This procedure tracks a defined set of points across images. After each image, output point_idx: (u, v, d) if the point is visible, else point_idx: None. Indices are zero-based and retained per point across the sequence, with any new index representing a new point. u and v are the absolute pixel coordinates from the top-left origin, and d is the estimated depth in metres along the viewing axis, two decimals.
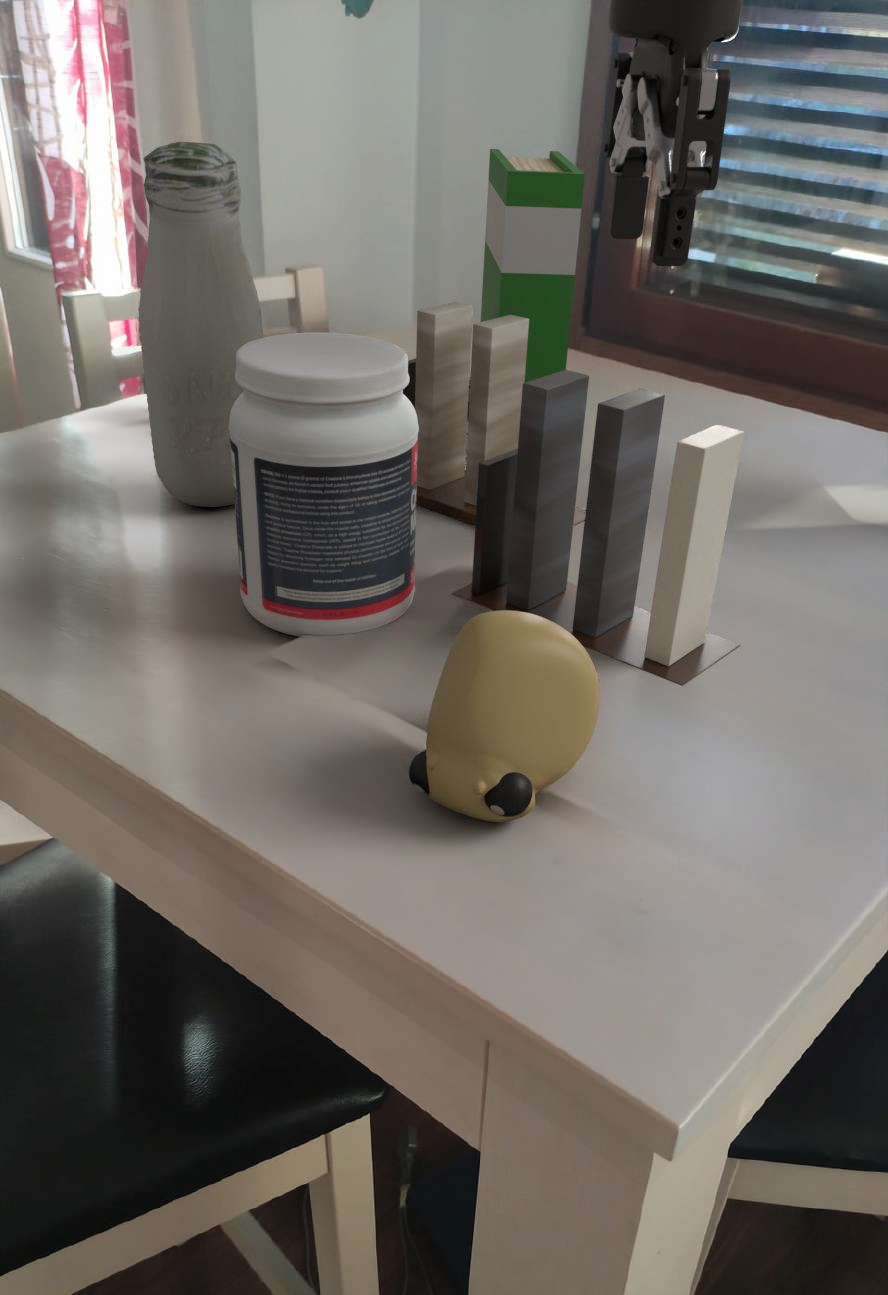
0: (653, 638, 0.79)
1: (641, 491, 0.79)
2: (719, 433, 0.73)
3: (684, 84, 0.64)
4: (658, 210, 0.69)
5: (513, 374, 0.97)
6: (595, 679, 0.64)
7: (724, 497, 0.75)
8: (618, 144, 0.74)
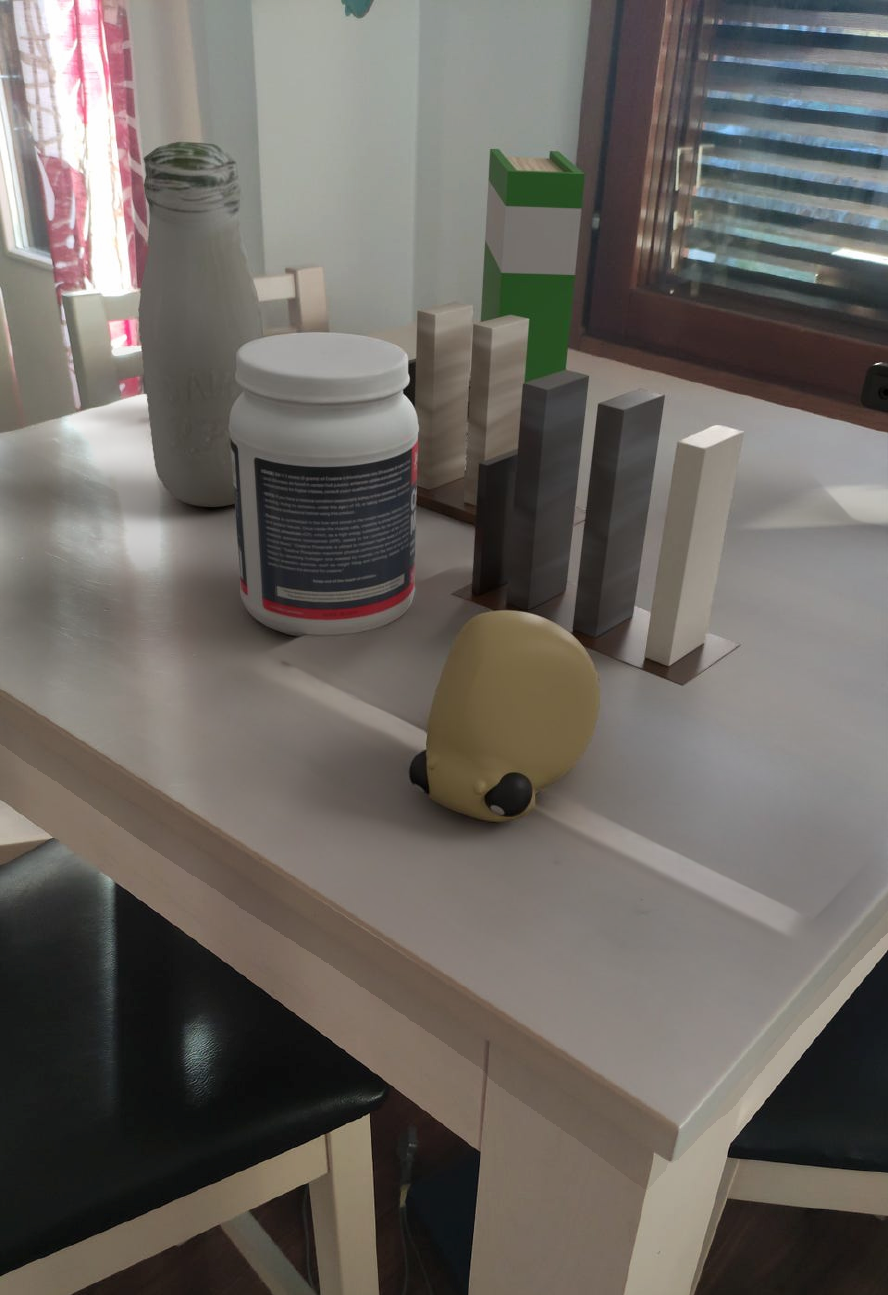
0: (653, 638, 0.79)
1: (641, 491, 0.79)
2: (719, 433, 0.73)
3: None
4: None
5: (513, 374, 0.97)
6: (595, 679, 0.64)
7: (724, 497, 0.75)
8: None
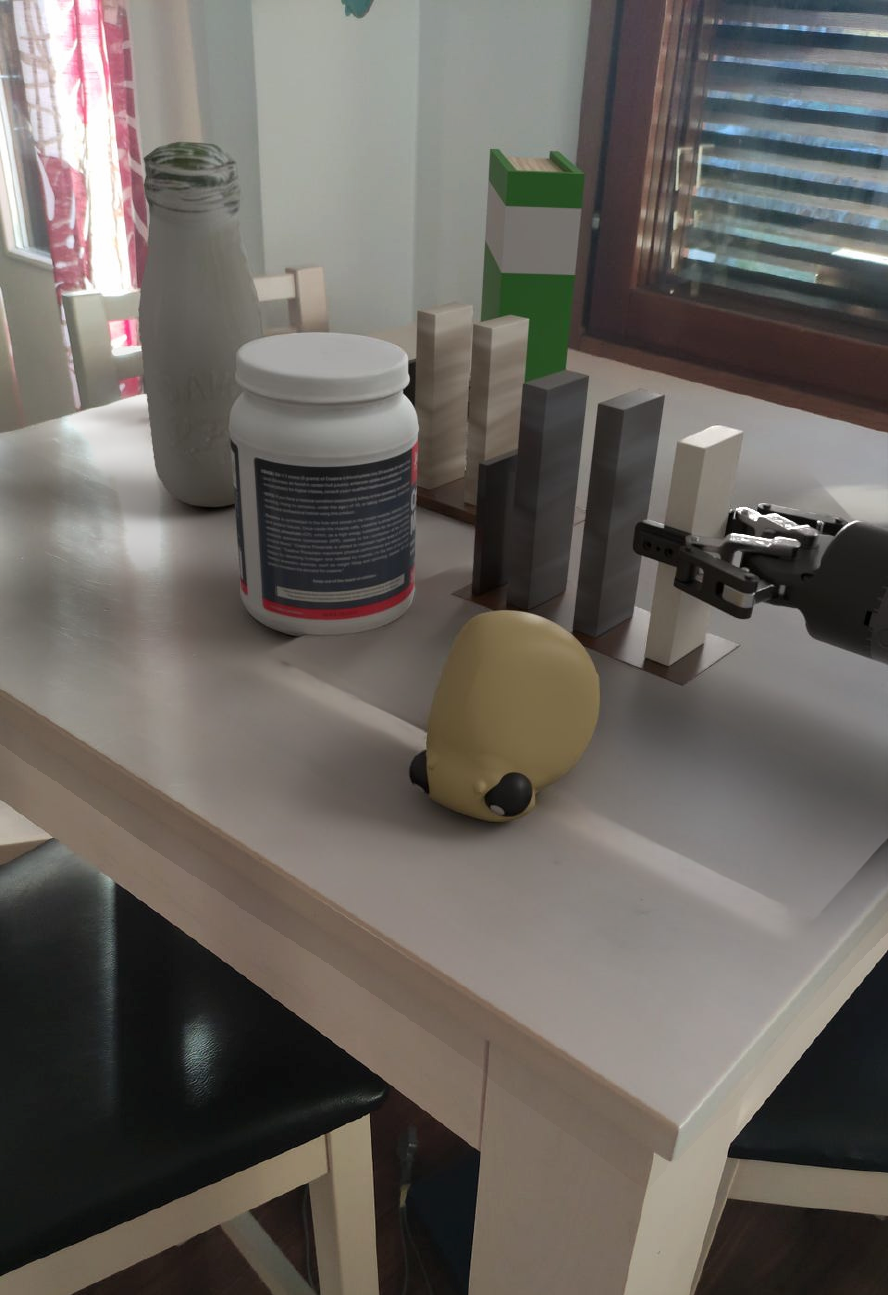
0: (653, 638, 0.79)
1: (641, 491, 0.79)
2: (719, 433, 0.73)
3: None
4: None
5: (513, 374, 0.97)
6: (595, 679, 0.64)
7: (724, 497, 0.75)
8: None
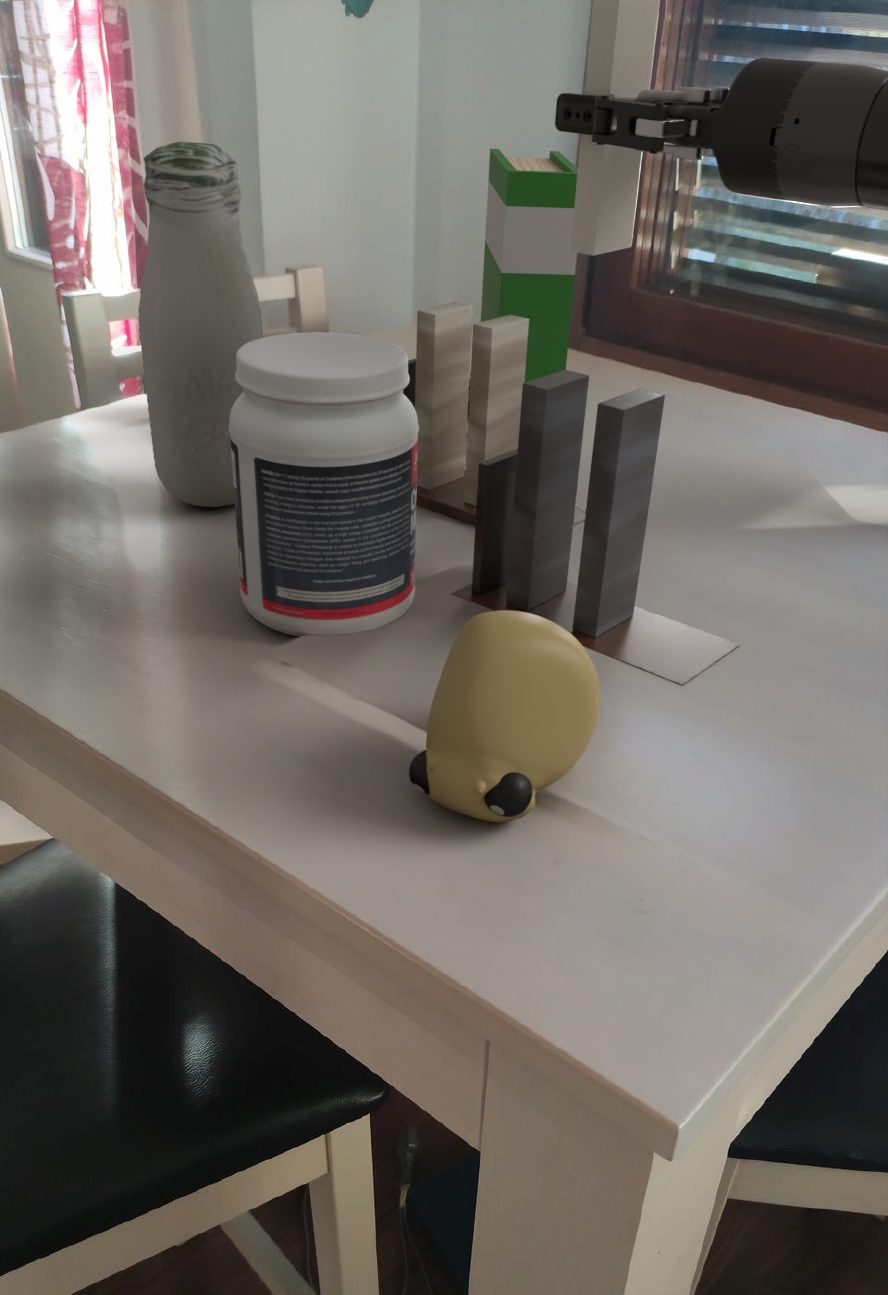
0: (578, 227, 0.81)
1: (641, 491, 0.79)
2: None
3: None
4: None
5: (513, 374, 0.97)
6: (595, 679, 0.64)
7: (643, 71, 0.78)
8: None
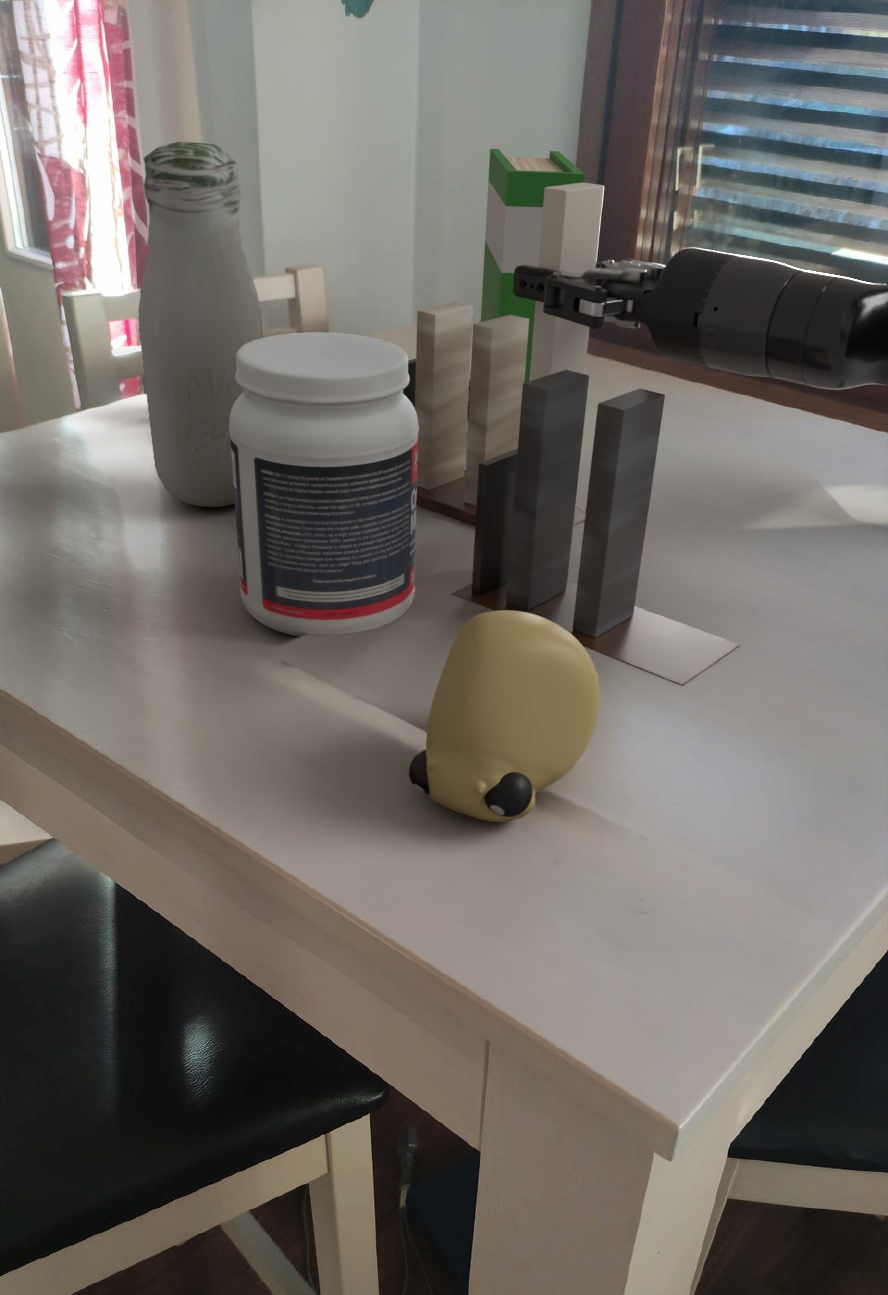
0: (534, 376, 0.92)
1: (641, 491, 0.79)
2: (582, 185, 0.86)
3: None
4: None
5: (513, 374, 0.97)
6: (595, 679, 0.64)
7: (590, 245, 0.89)
8: None
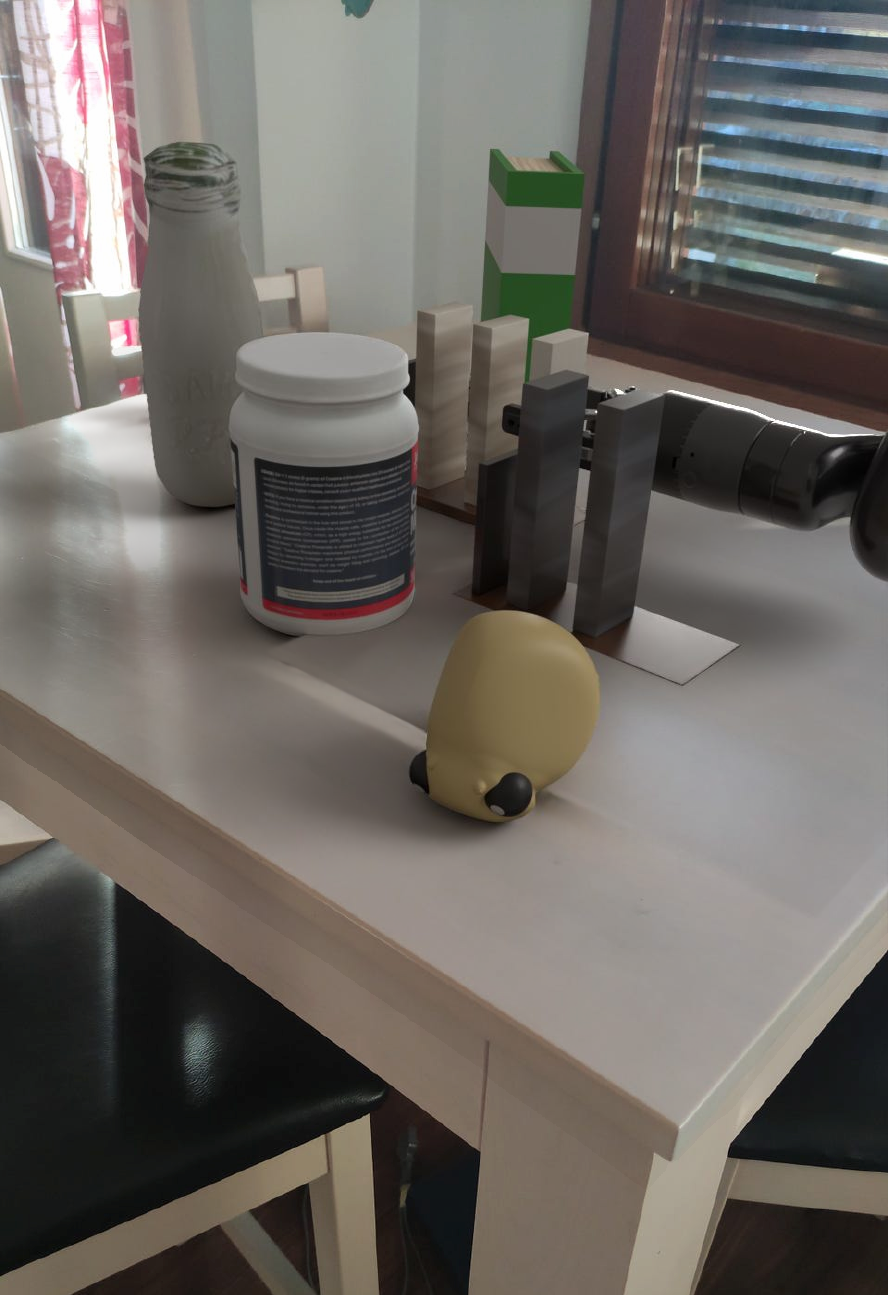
0: None
1: (641, 491, 0.79)
2: (568, 334, 0.92)
3: None
4: None
5: (513, 374, 0.97)
6: (595, 679, 0.64)
7: None
8: None
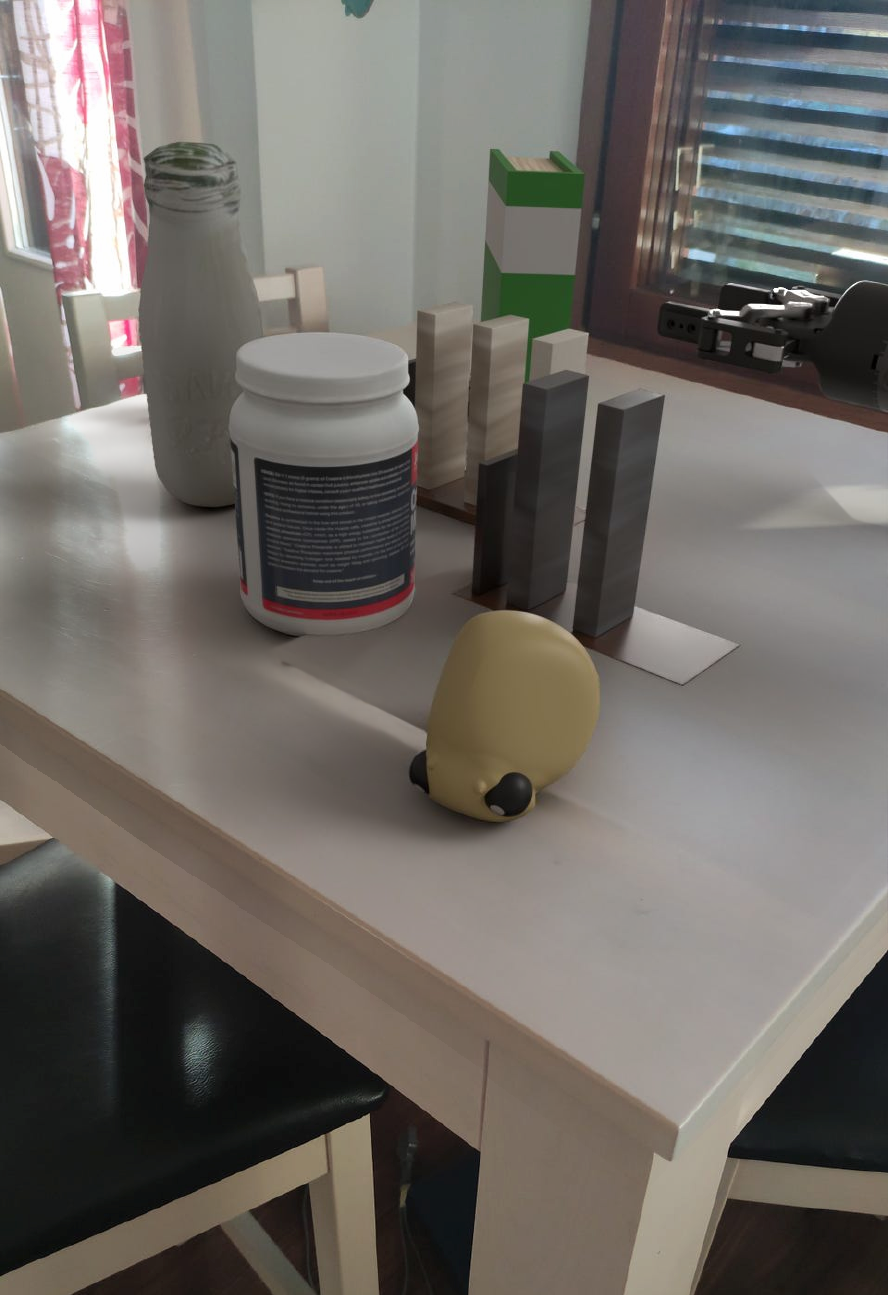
0: None
1: (641, 491, 0.79)
2: (568, 334, 0.92)
3: None
4: None
5: (513, 374, 0.97)
6: (595, 679, 0.64)
7: None
8: None
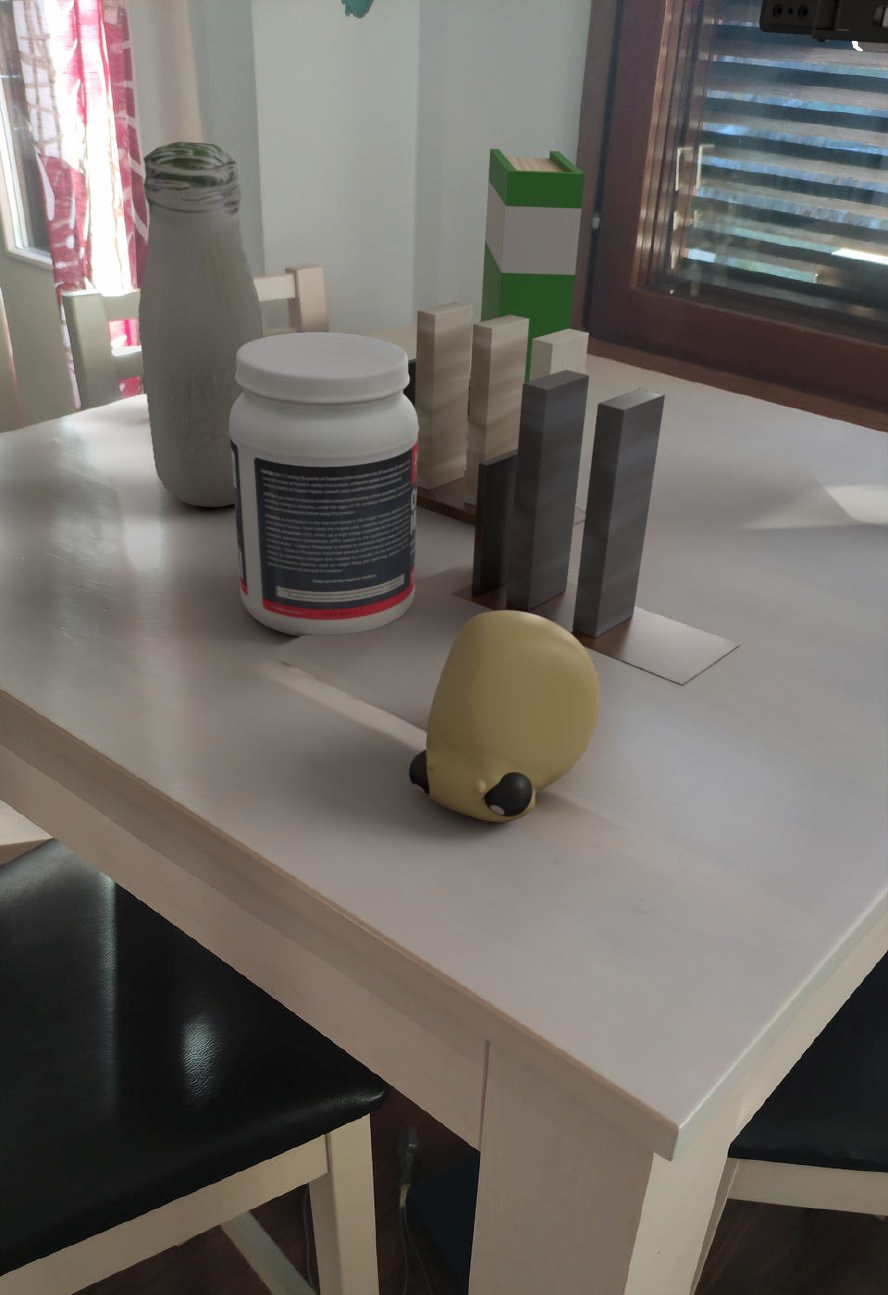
0: None
1: (641, 491, 0.79)
2: (568, 334, 0.92)
3: None
4: None
5: (513, 374, 0.97)
6: (595, 679, 0.64)
7: None
8: (855, 46, 0.68)
